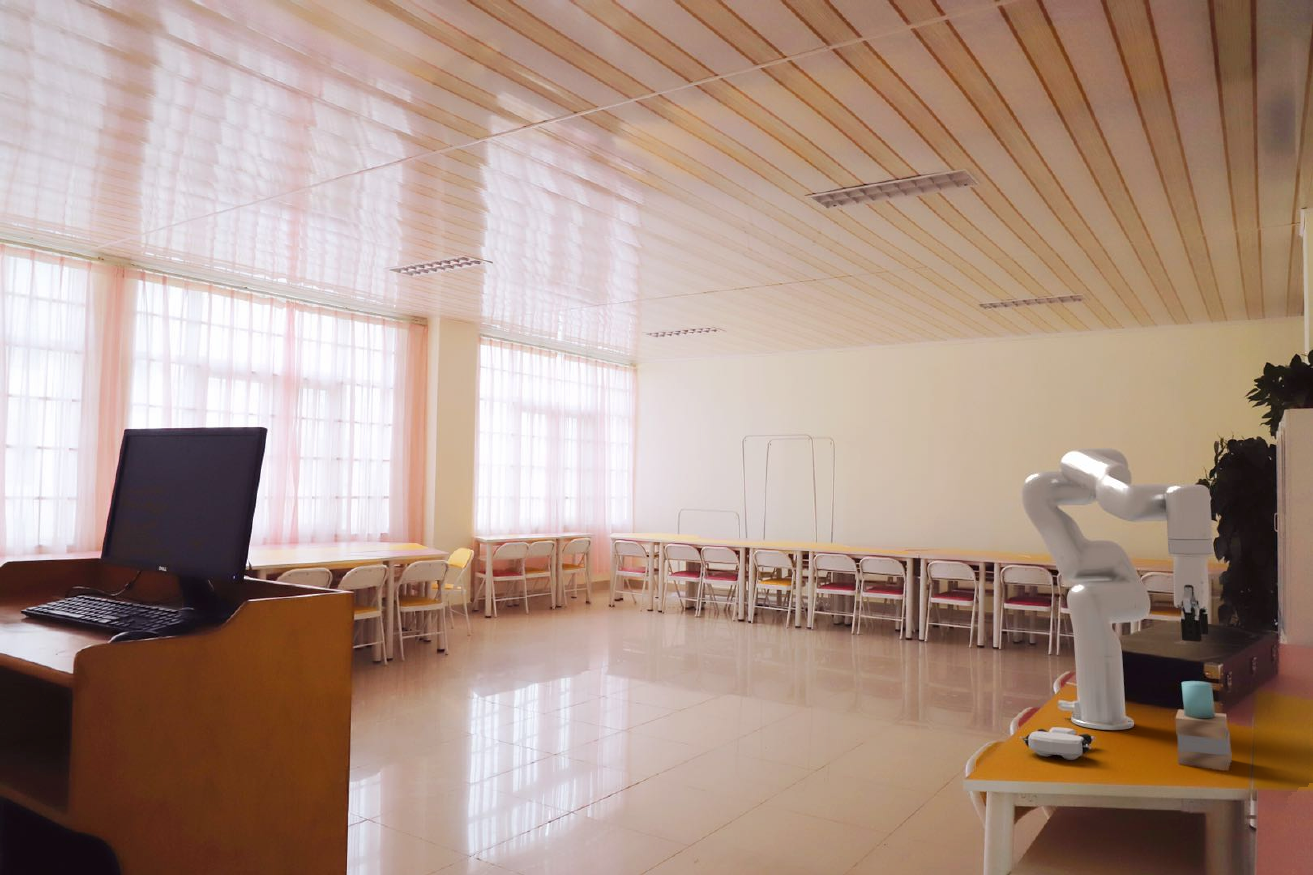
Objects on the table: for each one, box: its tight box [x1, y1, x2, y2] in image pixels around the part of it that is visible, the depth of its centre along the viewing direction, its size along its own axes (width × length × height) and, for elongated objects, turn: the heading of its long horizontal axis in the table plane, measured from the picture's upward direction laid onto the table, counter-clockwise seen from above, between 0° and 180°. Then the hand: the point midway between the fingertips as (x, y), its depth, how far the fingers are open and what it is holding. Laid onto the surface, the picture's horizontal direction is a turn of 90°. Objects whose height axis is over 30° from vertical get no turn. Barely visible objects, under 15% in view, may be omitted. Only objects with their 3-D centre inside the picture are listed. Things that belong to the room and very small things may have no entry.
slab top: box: [1174, 708, 1228, 740], centre depth 172 cm, size 8×8×3 cm
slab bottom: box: [1177, 745, 1233, 771], centre depth 171 cm, size 8×8×3 cm
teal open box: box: [1181, 680, 1216, 718], centre depth 172 cm, size 5×5×6 cm
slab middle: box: [1176, 729, 1231, 756], centre depth 172 cm, size 8×8×3 cm
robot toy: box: [1019, 726, 1096, 761], centre depth 180 cm, size 12×4×15 cm
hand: (1195, 637), depth 173 cm, fingers open, 9 cm apart
